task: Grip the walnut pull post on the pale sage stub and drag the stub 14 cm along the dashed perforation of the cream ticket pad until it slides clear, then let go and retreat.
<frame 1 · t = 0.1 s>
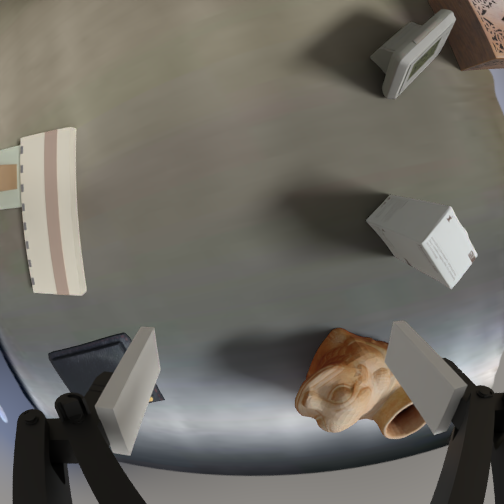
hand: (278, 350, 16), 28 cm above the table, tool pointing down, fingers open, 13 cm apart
skincare box: (393, 225, 44), on the table
ticket pad: (52, 213, 41), on the table
wallet: (103, 375, 49), on the table
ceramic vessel: (357, 365, 49), on the table
digital clock: (402, 62, 37), on the table
tissue box cover: (485, 35, 35), on the table
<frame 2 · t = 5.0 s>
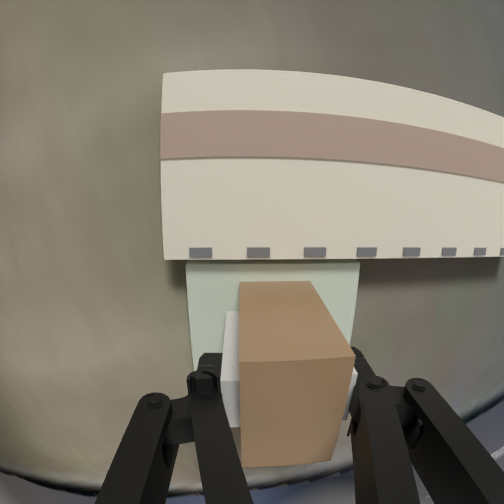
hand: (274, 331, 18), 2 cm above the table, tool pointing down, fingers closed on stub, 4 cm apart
stub: (280, 360, 15), point 5 cm above the table, slide at 0.0 cm, touching gripper
ticket pad: (380, 170, 18), on the table
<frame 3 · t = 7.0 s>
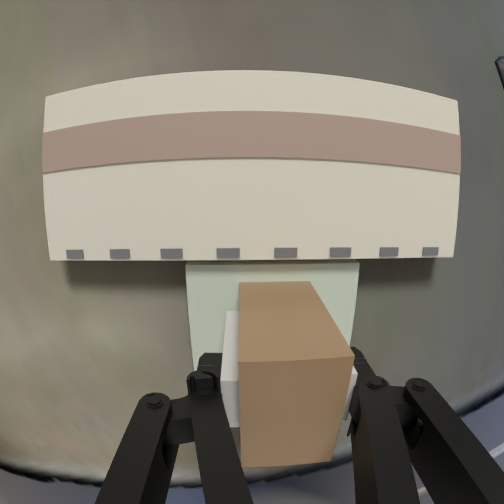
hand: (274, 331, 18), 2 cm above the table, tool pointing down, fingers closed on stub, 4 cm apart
stub: (279, 360, 15), point 5 cm above the table, slide at 7.6 cm, touching gripper
ticket pad: (255, 164, 17), on the table
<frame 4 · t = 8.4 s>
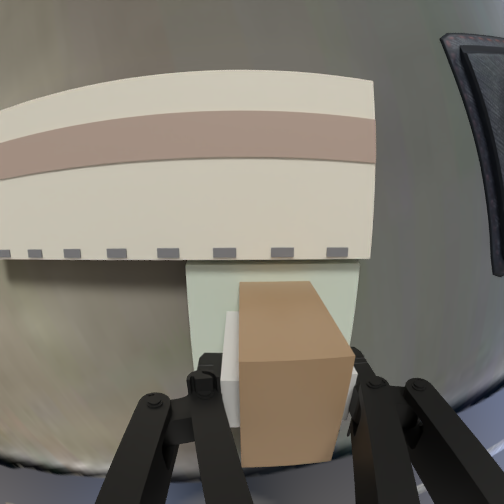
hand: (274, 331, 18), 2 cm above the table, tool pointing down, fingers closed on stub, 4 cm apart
stub: (280, 360, 15), point 5 cm above the table, slide at 13.7 cm, touching gripper
ticket pad: (148, 167, 17), on the table
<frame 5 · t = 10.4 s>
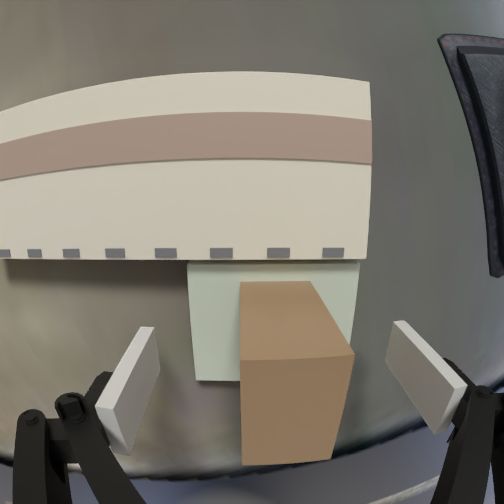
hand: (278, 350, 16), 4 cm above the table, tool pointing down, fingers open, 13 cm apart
stub: (280, 359, 15), point 5 cm above the table, slide at 14.0 cm
ticket pad: (146, 167, 17), on the table
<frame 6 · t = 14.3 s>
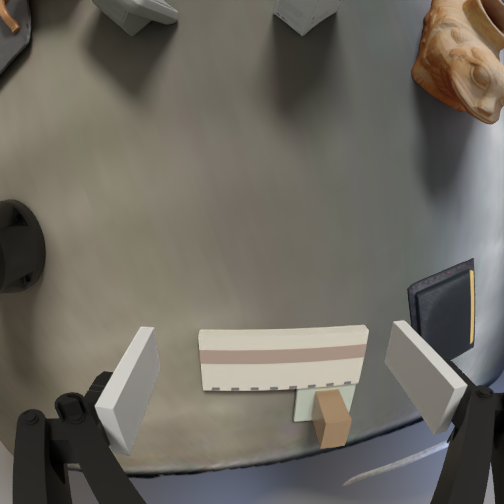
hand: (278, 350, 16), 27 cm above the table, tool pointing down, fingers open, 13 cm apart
skincare box: (305, 10, 34), on the table
stub: (329, 416, 44), point 5 cm above the table, slide at 14.0 cm
ticket pad: (283, 357, 46), on the table
wallet: (443, 319, 47), on the table
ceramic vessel: (446, 59, 36), on the table
digital clock: (137, 6, 33), on the table
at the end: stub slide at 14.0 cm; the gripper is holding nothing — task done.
